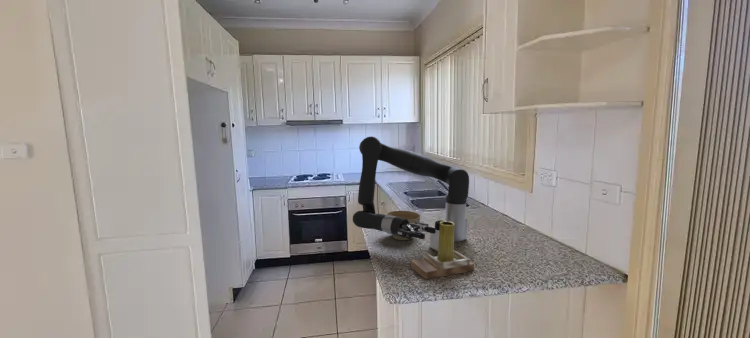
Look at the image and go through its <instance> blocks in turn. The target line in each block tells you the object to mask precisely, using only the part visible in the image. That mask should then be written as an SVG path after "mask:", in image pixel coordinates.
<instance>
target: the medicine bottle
mask: <svg viewBox="0 0 750 338" xmlns="http://www.w3.org/2000/svg"><path fill="white" fill-rule="evenodd" d="M443 221H445V219H444V220H436V221H434V228H436V233H435V234H433V233H429V235H430V237H429V248H430V249H432V250H434V251H436V252H438V246H439V229H440V222H443Z"/></svg>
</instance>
